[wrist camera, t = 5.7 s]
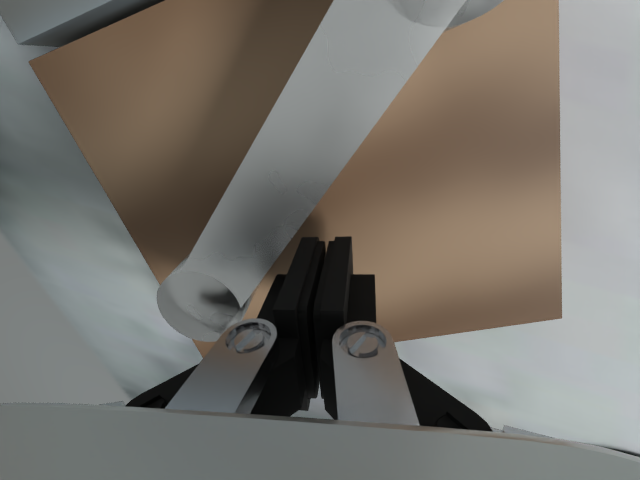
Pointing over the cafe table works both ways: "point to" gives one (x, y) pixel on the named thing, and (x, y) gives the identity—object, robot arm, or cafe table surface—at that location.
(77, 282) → the cafe table surface
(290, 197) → the swing bar
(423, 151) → the gray and brown slabs
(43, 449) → the robot arm
